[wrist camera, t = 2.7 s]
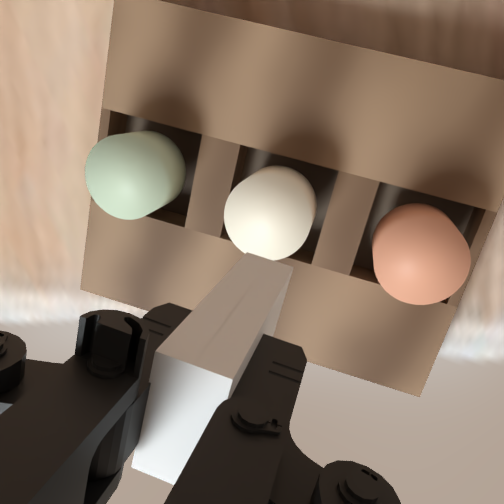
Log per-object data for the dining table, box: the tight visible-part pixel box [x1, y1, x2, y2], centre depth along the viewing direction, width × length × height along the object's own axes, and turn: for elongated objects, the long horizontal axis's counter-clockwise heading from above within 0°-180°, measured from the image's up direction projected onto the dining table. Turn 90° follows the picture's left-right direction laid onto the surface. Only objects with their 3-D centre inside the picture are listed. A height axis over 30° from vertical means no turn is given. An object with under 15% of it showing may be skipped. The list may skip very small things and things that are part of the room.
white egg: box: [224, 165, 317, 261], centre depth 23 cm, size 4×4×3 cm
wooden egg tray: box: [80, 0, 504, 397], centre depth 26 cm, size 20×16×3 cm
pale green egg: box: [85, 131, 186, 220], centre depth 24 cm, size 4×4×3 cm
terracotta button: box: [372, 203, 471, 305], centre depth 22 cm, size 4×4×3 cm
